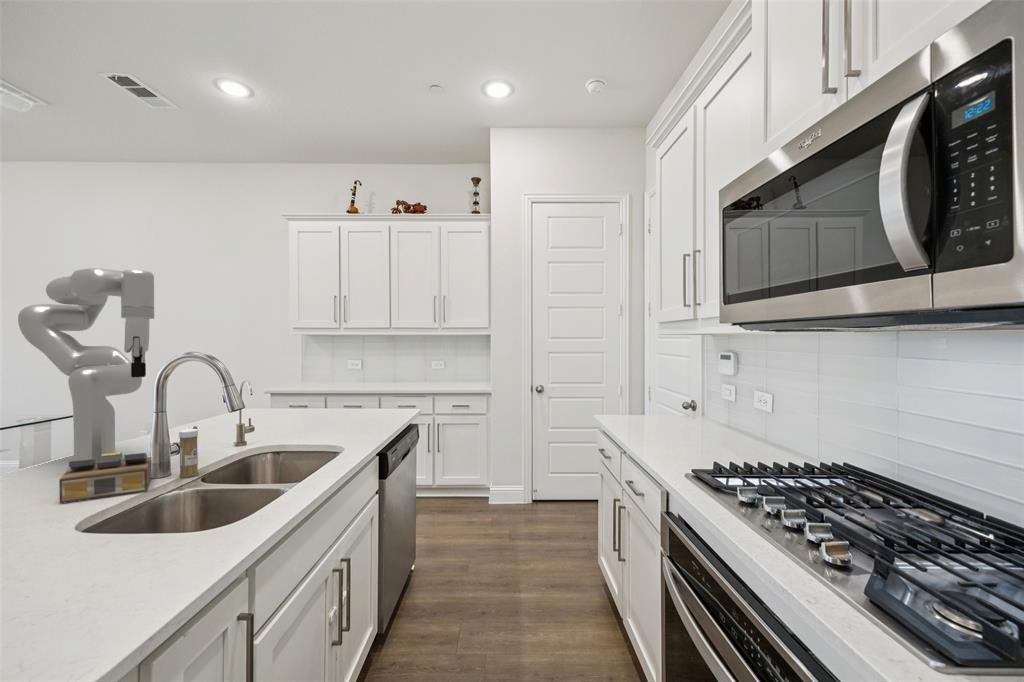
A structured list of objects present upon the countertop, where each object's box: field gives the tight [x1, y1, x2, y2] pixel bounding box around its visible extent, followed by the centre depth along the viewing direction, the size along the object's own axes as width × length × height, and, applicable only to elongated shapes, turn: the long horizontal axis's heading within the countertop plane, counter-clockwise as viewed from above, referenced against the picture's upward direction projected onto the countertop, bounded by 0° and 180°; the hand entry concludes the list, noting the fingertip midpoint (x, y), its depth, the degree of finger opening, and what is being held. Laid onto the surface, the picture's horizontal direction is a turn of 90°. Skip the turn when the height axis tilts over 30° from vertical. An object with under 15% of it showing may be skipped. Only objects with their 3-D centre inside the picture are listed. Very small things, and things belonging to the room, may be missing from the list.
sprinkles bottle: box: [178, 428, 199, 478], centre depth 140 cm, size 5×5×14 cm
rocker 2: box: [97, 451, 123, 468], centre depth 128 cm, size 6×4×2 cm
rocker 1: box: [68, 458, 96, 470], centre depth 125 cm, size 6×4×2 cm
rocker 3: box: [123, 452, 148, 463], centre depth 131 cm, size 6×4×2 cm
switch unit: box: [58, 456, 152, 504], centre depth 127 cm, size 14×17×6 cm
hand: (138, 376), depth 138 cm, fingers closed
